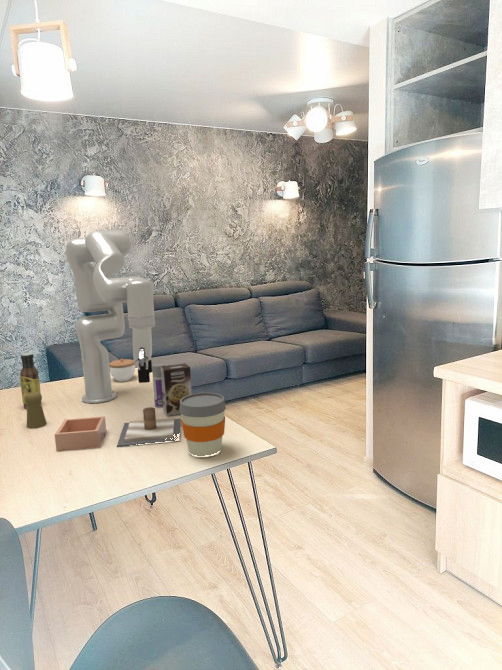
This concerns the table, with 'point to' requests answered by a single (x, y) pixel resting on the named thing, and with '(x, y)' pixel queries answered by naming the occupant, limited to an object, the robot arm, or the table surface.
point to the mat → (122, 440)
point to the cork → (34, 410)
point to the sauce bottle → (28, 376)
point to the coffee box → (175, 386)
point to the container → (157, 384)
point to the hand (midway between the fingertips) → (145, 377)
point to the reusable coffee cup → (203, 422)
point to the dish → (80, 433)
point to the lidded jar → (122, 369)
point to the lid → (150, 427)
